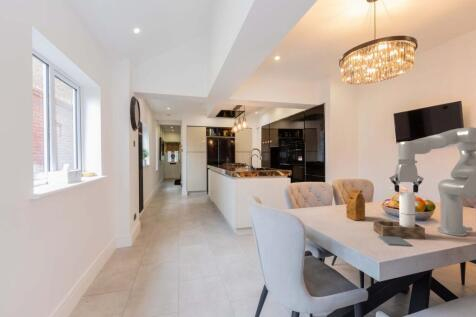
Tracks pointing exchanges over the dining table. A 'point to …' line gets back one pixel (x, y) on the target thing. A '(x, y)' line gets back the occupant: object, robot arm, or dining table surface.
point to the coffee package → (355, 205)
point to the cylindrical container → (407, 208)
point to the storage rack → (398, 230)
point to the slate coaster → (394, 241)
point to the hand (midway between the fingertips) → (406, 192)
